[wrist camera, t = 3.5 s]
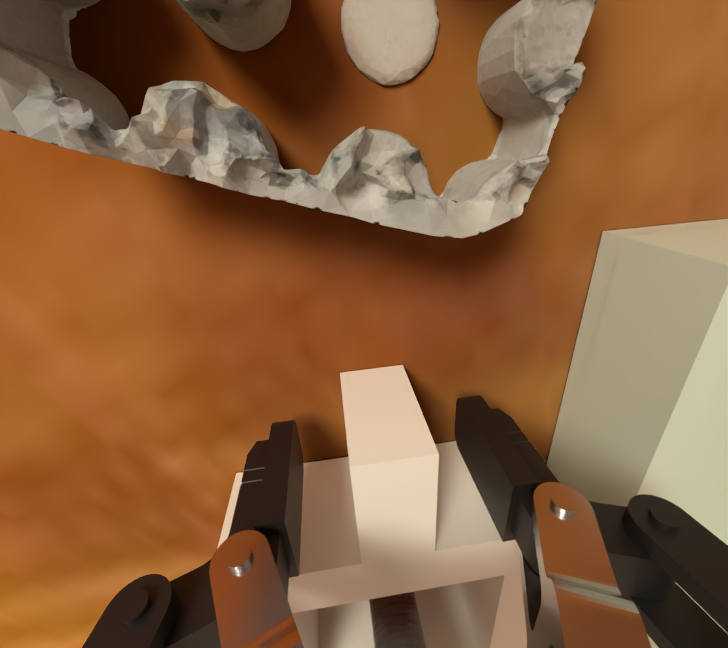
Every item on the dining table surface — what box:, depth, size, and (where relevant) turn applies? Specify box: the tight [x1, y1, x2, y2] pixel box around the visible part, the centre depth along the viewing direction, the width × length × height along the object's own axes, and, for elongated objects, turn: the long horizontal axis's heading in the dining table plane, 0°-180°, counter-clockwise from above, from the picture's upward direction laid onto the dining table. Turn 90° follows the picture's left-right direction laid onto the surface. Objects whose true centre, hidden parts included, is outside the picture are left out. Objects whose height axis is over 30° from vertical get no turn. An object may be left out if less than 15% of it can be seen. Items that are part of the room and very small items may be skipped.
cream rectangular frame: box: [217, 365, 527, 648], centre depth 13 cm, size 15×11×4 cm
